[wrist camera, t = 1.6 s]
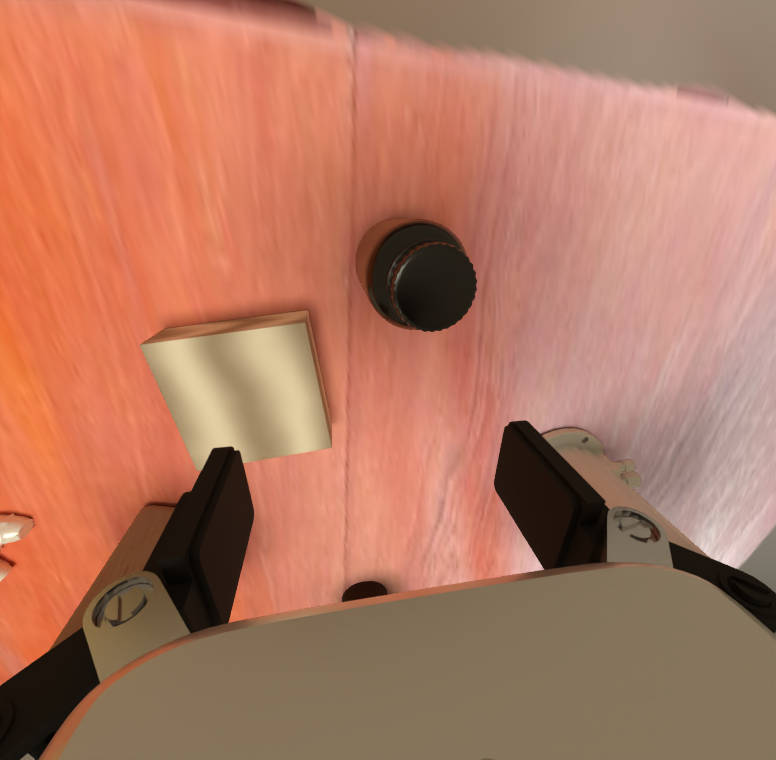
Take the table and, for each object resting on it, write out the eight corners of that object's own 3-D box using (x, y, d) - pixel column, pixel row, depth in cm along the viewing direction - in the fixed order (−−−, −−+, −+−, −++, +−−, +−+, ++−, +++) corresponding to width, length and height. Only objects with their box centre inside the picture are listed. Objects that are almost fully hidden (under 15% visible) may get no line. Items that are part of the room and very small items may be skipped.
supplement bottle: (354, 301, 29) (368, 349, 19) (355, 215, 26) (373, 213, 16) (429, 303, 31) (482, 349, 20) (438, 221, 28) (506, 223, 17)
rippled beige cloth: (308, 309, 29) (305, 322, 25) (331, 424, 34) (331, 447, 31) (163, 328, 28) (139, 344, 24) (211, 444, 33) (197, 471, 30)
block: (142, 500, 35) (-53, 792, 17) (243, 509, 37) (165, 771, 20) (141, 564, 39) (-20, 859, 21) (233, 568, 41) (160, 834, 23)
